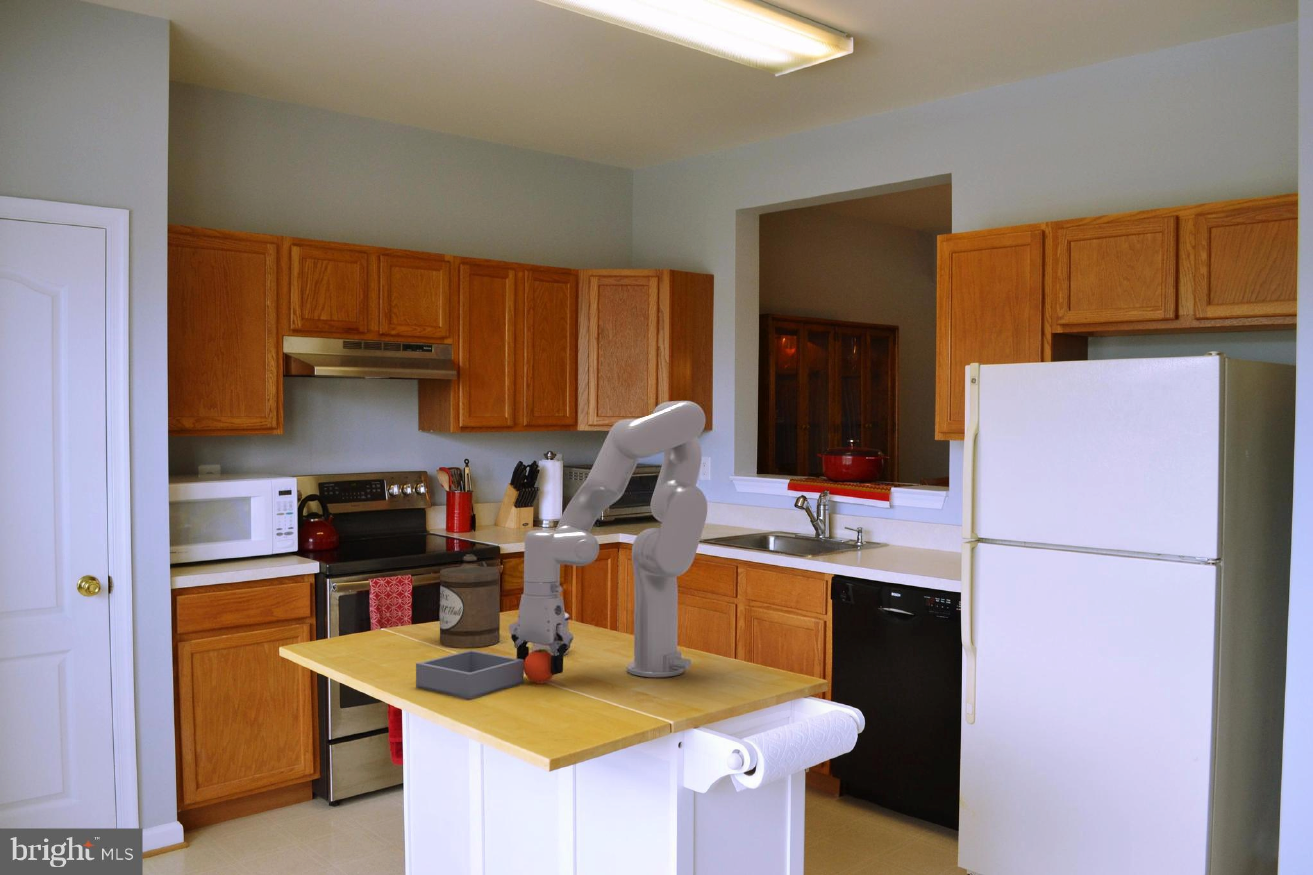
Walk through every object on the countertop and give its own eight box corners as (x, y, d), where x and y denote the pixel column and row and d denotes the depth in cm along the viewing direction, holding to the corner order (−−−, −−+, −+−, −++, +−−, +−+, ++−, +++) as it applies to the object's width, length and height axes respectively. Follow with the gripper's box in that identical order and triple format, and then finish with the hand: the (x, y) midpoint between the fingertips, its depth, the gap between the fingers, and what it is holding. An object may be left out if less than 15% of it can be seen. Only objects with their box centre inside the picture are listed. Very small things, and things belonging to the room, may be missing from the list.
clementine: (543, 675, 216) (544, 643, 216) (566, 681, 212) (566, 647, 212) (516, 683, 210) (516, 649, 210) (539, 688, 206) (539, 654, 206)
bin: (523, 683, 210) (523, 659, 210) (469, 699, 197) (469, 674, 197) (471, 672, 219) (471, 649, 219) (416, 687, 206) (416, 663, 206)
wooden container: (433, 638, 254) (434, 552, 254) (490, 634, 260) (491, 549, 260) (447, 650, 240) (447, 559, 240) (506, 645, 247) (507, 556, 246)
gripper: (584, 591, 209) (582, 673, 209) (523, 582, 219) (521, 660, 219) (560, 595, 203) (558, 679, 203) (499, 586, 213) (497, 666, 213)
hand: (539, 669), depth 211 cm, fingers open, 9 cm apart
